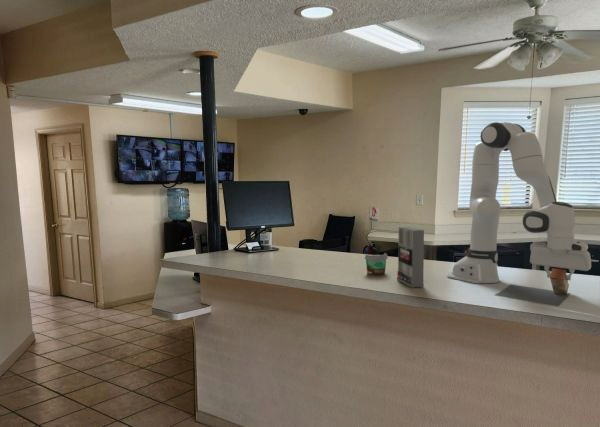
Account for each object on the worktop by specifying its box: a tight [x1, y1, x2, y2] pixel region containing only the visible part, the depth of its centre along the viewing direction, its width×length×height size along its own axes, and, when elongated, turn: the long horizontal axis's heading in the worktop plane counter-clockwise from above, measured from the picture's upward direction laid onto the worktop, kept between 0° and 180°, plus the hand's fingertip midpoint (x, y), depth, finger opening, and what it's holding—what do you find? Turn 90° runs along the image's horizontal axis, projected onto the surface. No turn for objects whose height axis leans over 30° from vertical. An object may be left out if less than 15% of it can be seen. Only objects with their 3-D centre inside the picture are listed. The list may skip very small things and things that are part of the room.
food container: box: [364, 252, 389, 277], centre depth 202 cm, size 12×6×10 cm, turn 114°
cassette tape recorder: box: [396, 226, 425, 289], centre depth 183 cm, size 14×6×25 cm, turn 13°
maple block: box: [549, 267, 570, 295], centre depth 162 cm, size 4×4×11 cm
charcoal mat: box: [494, 284, 571, 307], centre depth 163 cm, size 22×22×1 cm
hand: (558, 278), depth 160 cm, fingers open, 5 cm apart
